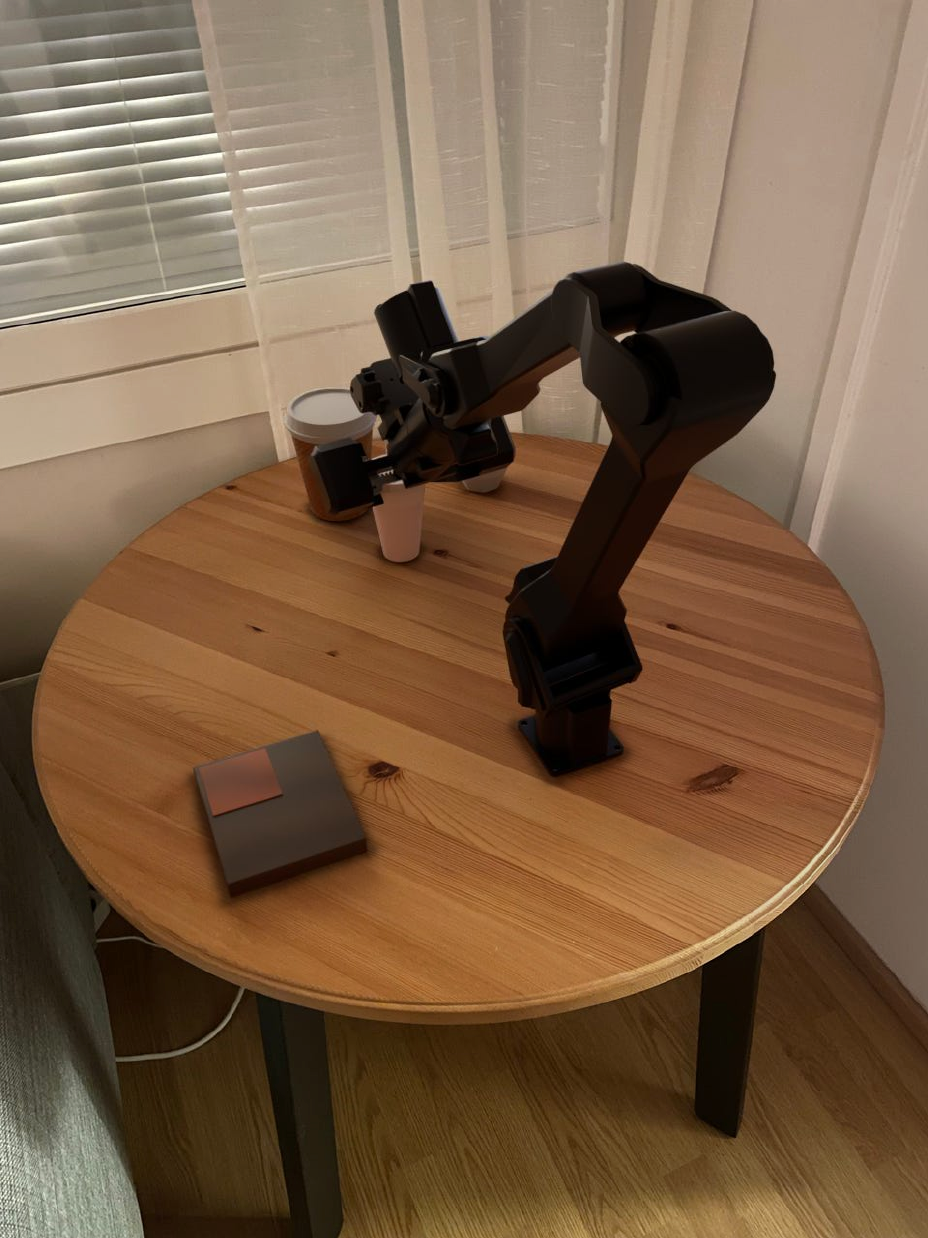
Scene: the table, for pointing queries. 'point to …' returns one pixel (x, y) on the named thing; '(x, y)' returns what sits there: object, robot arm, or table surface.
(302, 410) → the disposable coffee cup
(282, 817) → the board
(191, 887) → the table surface
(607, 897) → the table surface
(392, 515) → the smoothie
